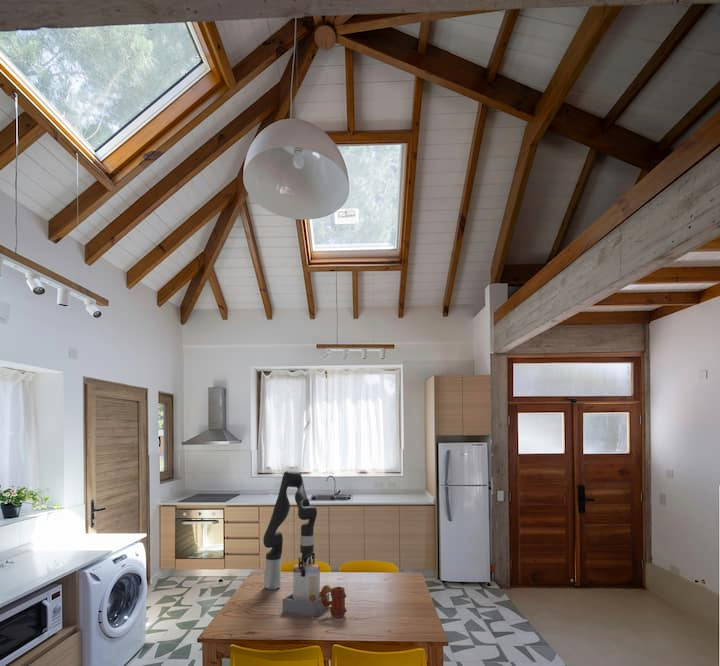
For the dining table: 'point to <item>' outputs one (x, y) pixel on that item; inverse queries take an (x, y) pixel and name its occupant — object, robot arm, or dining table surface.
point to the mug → (334, 600)
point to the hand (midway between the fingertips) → (306, 574)
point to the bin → (303, 606)
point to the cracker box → (306, 583)
